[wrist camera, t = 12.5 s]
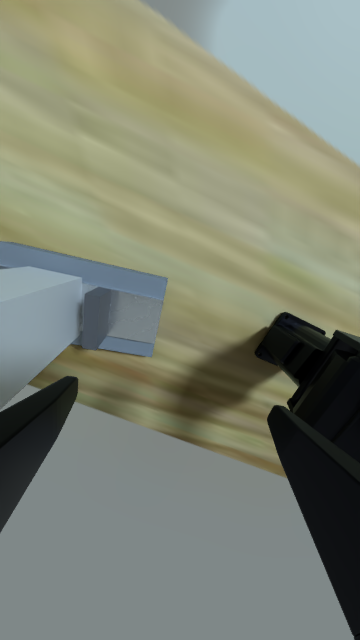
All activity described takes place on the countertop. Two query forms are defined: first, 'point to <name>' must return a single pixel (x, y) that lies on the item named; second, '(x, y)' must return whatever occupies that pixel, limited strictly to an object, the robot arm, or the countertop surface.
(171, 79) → the countertop surface
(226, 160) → the countertop surface
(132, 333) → the steel rail
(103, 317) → the end clamps
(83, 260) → the rail board
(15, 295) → the block
